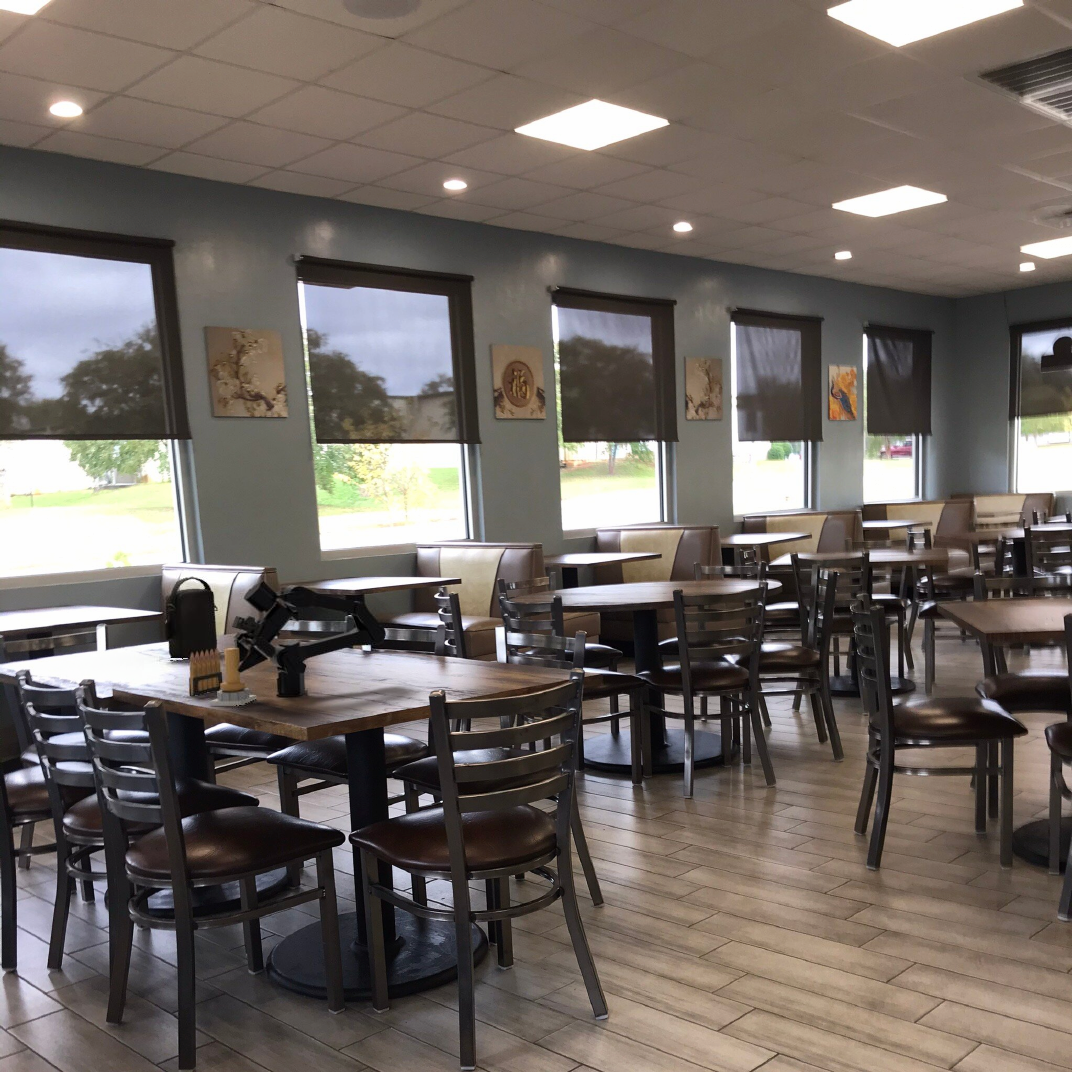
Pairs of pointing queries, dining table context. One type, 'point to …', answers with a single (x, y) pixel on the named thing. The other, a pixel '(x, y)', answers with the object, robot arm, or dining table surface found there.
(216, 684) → the ammunition clip
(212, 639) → the shoulder bag
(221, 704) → the housing
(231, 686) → the tan peg
